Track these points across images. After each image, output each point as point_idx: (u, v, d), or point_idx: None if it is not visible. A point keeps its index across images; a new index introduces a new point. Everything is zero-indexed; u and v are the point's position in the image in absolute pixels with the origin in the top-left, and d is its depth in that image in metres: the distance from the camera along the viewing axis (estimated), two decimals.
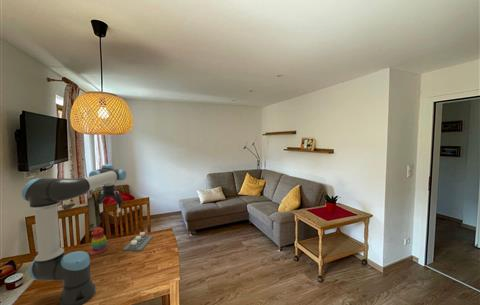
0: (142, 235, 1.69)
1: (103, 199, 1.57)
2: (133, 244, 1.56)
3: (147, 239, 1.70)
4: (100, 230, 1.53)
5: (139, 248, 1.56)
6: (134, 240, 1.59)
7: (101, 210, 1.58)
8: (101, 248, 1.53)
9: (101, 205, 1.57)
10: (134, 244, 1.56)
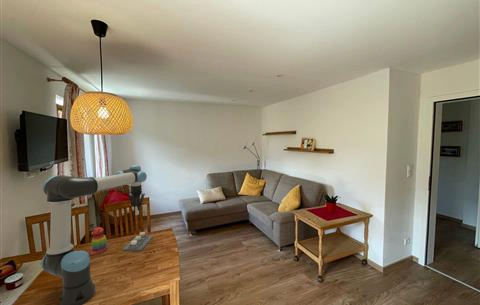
0: (142, 235, 1.69)
1: (135, 200, 1.62)
2: (133, 244, 1.56)
3: (147, 239, 1.70)
4: (100, 230, 1.53)
5: (139, 248, 1.56)
6: (134, 240, 1.59)
7: None
8: (101, 248, 1.53)
9: None
10: (134, 244, 1.56)
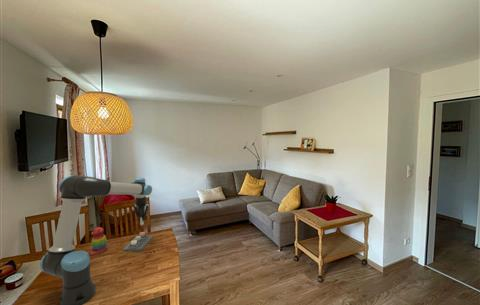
0: (142, 235, 1.69)
1: (140, 211, 1.69)
2: (133, 244, 1.56)
3: (147, 239, 1.70)
4: (100, 230, 1.53)
5: (139, 248, 1.56)
6: (134, 240, 1.59)
7: None
8: (101, 248, 1.53)
9: None
10: (134, 244, 1.56)
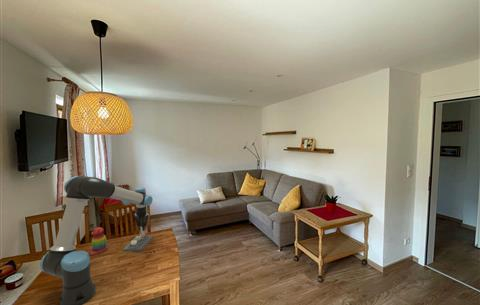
0: (142, 237, 1.69)
1: (141, 221, 1.70)
2: (133, 244, 1.56)
3: (147, 239, 1.70)
4: (100, 230, 1.53)
5: (139, 248, 1.56)
6: (134, 240, 1.59)
7: None
8: (101, 248, 1.53)
9: None
10: (134, 244, 1.56)
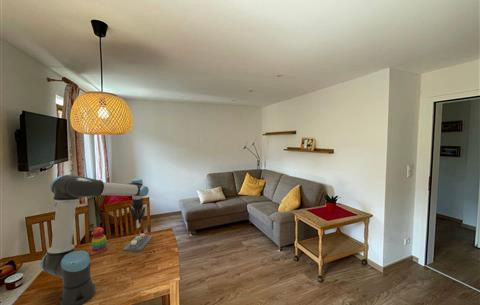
0: (142, 237, 1.69)
1: (137, 213, 1.64)
2: (133, 244, 1.56)
3: (147, 239, 1.70)
4: (100, 230, 1.53)
5: (139, 248, 1.56)
6: (134, 240, 1.59)
7: None
8: (101, 248, 1.53)
9: None
10: (134, 244, 1.56)
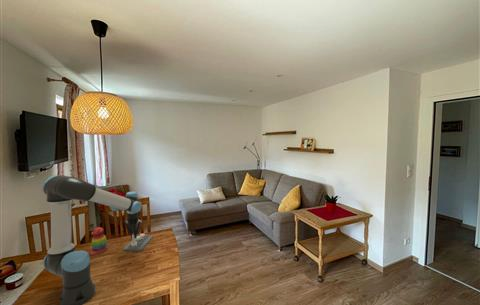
0: (142, 237, 1.69)
1: (132, 228, 1.57)
2: (133, 246, 1.56)
3: (147, 239, 1.70)
4: (100, 230, 1.53)
5: (139, 248, 1.56)
6: None
7: None
8: (101, 248, 1.53)
9: None
10: (134, 246, 1.57)
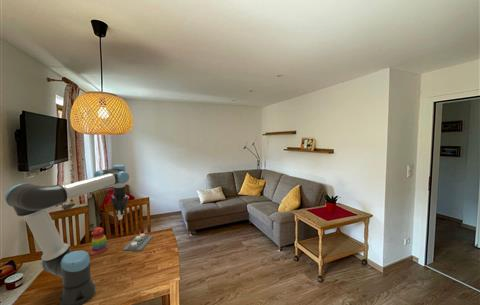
0: (142, 237, 1.69)
1: (119, 203, 1.47)
2: (133, 246, 1.56)
3: (147, 239, 1.70)
4: (100, 230, 1.53)
5: (139, 248, 1.56)
6: (134, 242, 1.59)
7: None
8: (101, 248, 1.53)
9: None
10: (134, 246, 1.57)
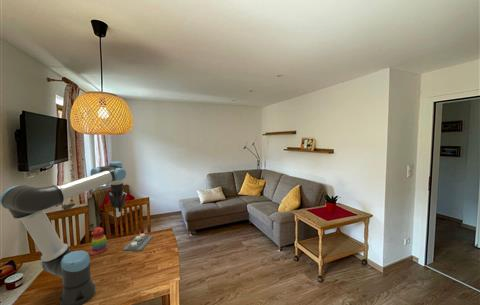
0: (142, 237, 1.69)
1: (116, 201, 1.46)
2: (133, 246, 1.56)
3: (147, 239, 1.70)
4: (100, 230, 1.53)
5: (139, 248, 1.56)
6: (134, 242, 1.59)
7: None
8: (101, 248, 1.53)
9: None
10: (134, 246, 1.57)
